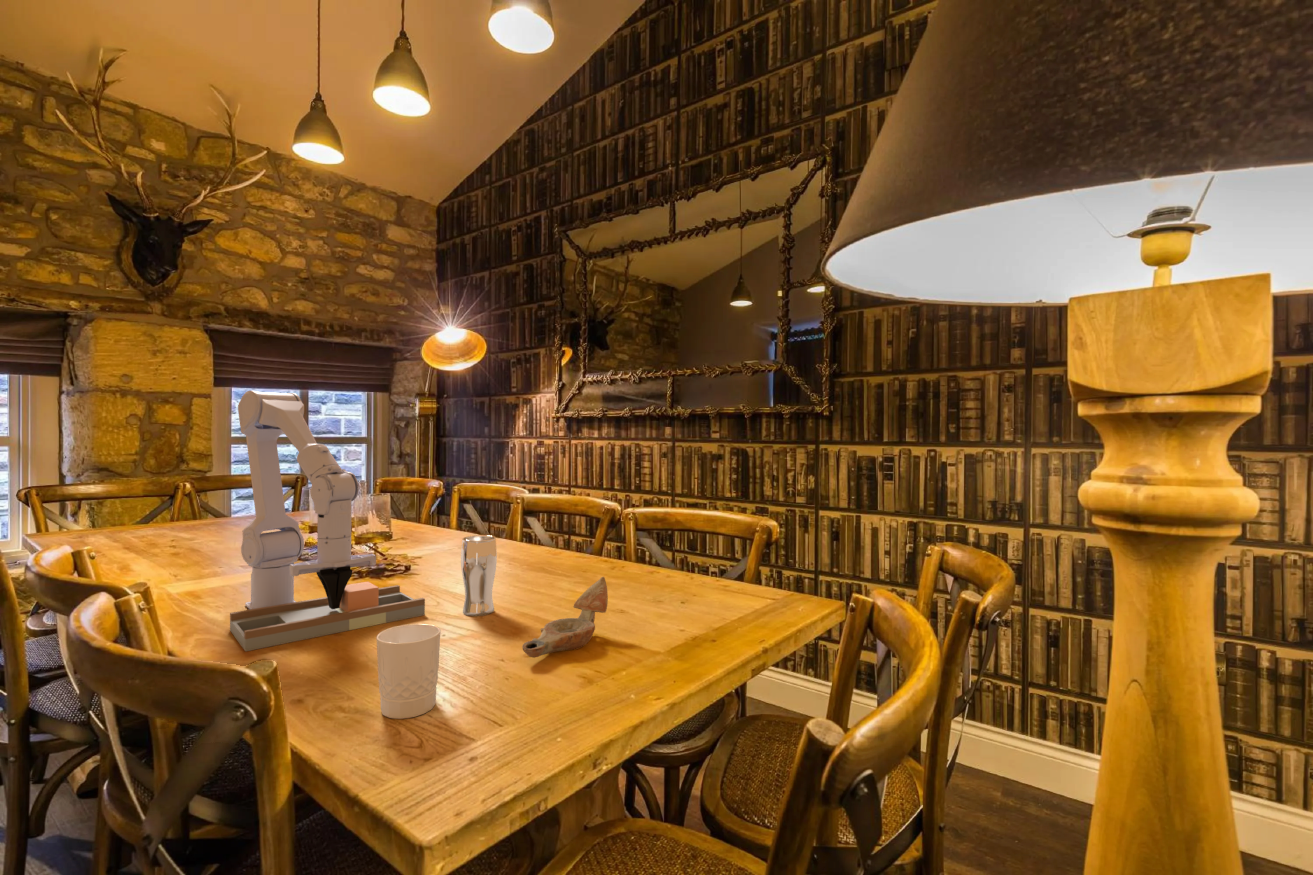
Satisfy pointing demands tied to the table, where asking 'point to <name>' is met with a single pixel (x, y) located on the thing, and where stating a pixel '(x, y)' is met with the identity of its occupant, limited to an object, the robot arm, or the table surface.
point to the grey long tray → (317, 619)
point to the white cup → (408, 669)
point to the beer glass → (478, 573)
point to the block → (359, 596)
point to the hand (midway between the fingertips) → (334, 607)
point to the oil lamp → (571, 624)
